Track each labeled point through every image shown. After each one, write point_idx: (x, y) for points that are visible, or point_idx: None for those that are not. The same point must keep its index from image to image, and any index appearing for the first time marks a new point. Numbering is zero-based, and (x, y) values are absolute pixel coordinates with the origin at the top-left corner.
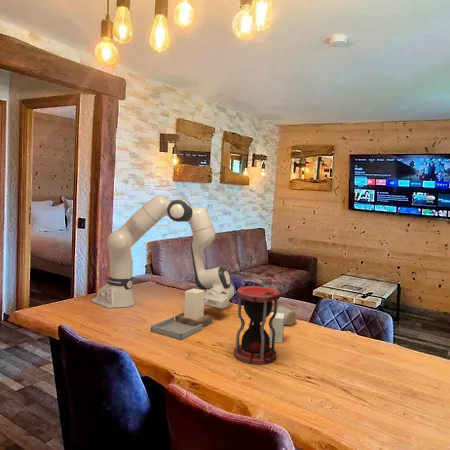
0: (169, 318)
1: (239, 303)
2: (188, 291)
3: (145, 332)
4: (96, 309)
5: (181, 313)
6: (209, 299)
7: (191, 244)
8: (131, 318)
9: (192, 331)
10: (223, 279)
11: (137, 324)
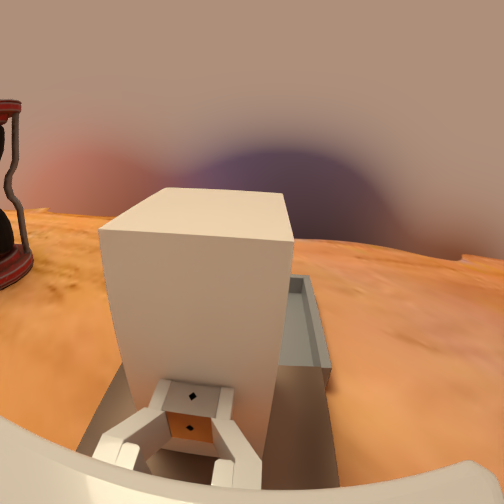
0: (324, 344)
1: (16, 131)
2: (253, 194)
3: (313, 287)
4: None
5: (329, 418)
6: (69, 449)
7: None
8: (459, 332)
9: None
10: None
11: (393, 312)
